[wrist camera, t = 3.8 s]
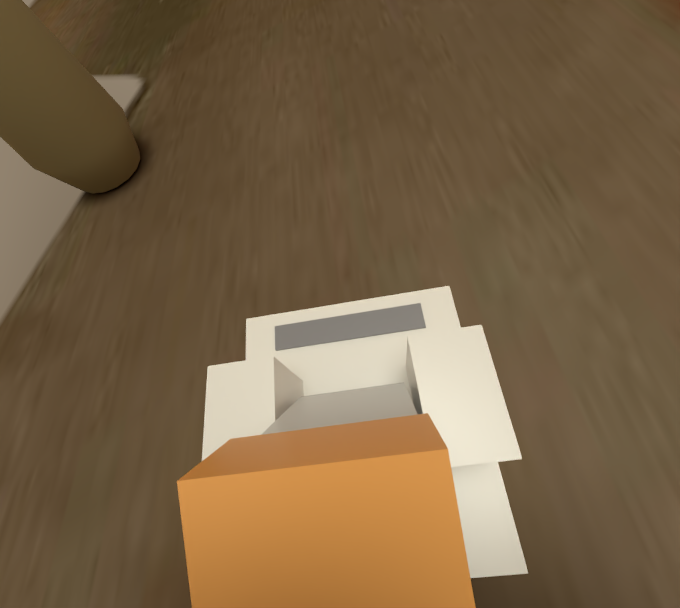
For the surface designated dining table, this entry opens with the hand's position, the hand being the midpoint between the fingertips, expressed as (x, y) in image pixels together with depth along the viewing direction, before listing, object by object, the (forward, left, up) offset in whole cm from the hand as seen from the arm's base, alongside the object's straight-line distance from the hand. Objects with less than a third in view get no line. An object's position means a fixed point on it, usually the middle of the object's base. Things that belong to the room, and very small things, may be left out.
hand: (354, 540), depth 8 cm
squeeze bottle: (+11, +31, -9) cm, 35 cm away
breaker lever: (+3, +2, -4) cm, 5 cm away
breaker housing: (+3, +2, -9) cm, 10 cm away
